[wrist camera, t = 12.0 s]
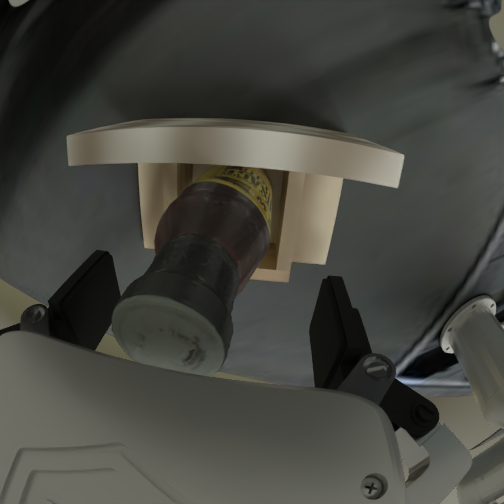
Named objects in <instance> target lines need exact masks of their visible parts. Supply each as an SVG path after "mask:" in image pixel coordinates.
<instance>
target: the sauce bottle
mask: <svg viewBox="0 0 504 504" xmlns="http://www.w3.org/2000/svg"><path fill="white" fill-rule="evenodd" d="M271 215H272V184H271V181H270V178H269V176H268V174H267V172H266V171H265V169H263V168H256V167H244V166H230V165H213V166H212V167H211V168H209V169H208V170H207V171H206V172H205V173H204V174H202V175H201V176H200V177H199V178H197V179H196V180H195V181H194V182H193V183H192V184H190V185H189V186H188V187H187V188H186V189H184V190H183V191H182V192H181V194H180V195H179V196H178V198H176V199H175V200H174V201H173V202H172V203H171V204H170V205H169V206H168V208H167V209H166V210H165V212H164V213H163V215H162V217H161V219H160V221H159V223H158V226H157V230H156V234H155V239H154V246H155V252H156V256H155V258H154V260H153V263H152V264H151V266H150V267H149V268H148V270H147V271H146V273H145V274H144V275H143V276H141V277H139V278H138V279H136V280H134V281H133V282H132V283H131V284H130V285H129V286H128V287H127V289H126V290H125V292H124V293H123V295H122V296H121V298H120V300H119V301H118V303H117V304H116V306H115V308H114V310H113V314H112V331H113V333H114V335H115V338H116V340H117V342H118V343H119V345H120V346H121V348H122V349H123V350H124V352H125V353H126V354H127V355H128V356H129V357H131V358H132V359H133V360H134V361H135V362H138V363H142V364H147V365H151V366H155V367H160V368H165V369H170V370H175V371H180V372H185V373H191V374H197V375H203V376H211V375H212V374H214V373H216V372H217V371H218V370H219V369H220V368H221V367H222V365H223V363H224V361H225V359H226V357H227V353H228V349H229V347H230V342H231V338H232V334H233V323H232V317H231V311H232V309H233V303H234V299H235V297H236V296H237V294H239V293H240V292H241V291H242V290H243V288H244V287H245V285H246V284H247V282H248V281H249V279H250V278H251V276H252V275H253V273H254V272H255V270H256V269H257V267H258V266H259V264H260V263H261V261H262V260H263V258H264V257H265V255H266V254H267V252H268V249H269V245H270V235H271V217H272V216H271Z"/></svg>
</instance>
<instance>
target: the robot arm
mask: <svg viewBox="0 0 504 504" xmlns="http://www.w3.org/2000/svg"><path fill="white" fill-rule="evenodd" d="M120 298H121V295H120V291H119V286H118V282H117V277H116V272H115V268H114V262H113V258H112V255H110V254H109V252H108V251H102V250H96V251H95V252H94V253H93V254H92V255H91V256H90V257H89V258H88V259H87V260H86V261H85V262H84V263H83V264H82V265H81V266H80V267H79V268H78V269H77V270H76V271H75V272H74V273H73V274H72V275H71V276H70V277H69V278H68V279H67V280H66V282H65V283H64V284H63V285H62V286H61V287H60V288H59V289H58V290H57V291H56V292H55V294H54V295H53V296H52V297H51V298H50V299H49V300H48V303H49V308H48V309H47V307H46V306H45V305H43V304H35V305H32V306H30V307H29V308H27V309H26V310H25V311H24V312H23V314H22V316H21V323H18V324H16V325H13V326H10V327H7V328H4V329H2V330H0V504H440V503H441V502H442V501H443V500H444V499H445V498H446V497H447V496H448V494H449V493H450V492H451V491H452V490H453V489H454V488H455V487H456V490H457V497H458V501H459V504H499V503H497V502H496V501H495V500H496V499H498V498H500V497H501V496H503V495H504V437H503V438H501V439H500V440H499V441H498V442H496V443H495V444H494V445H492V446H491V447H489V448H488V449H486V450H485V451H483V452H482V453H480V454H479V455H477V456H476V457H474V458H473V459H472V457H471V454H470V452H469V451H468V450H467V449H466V447H465V446H464V445H463V444H462V443H461V442H460V441H459V439H458V438H457V437H456V436H455V435H454V433H453V432H452V431H451V430H450V429H449V428H448V427H447V426H446V425H445V423H444V424H443V425H441V424H440V423H439V412H438V409H437V408H436V406H435V405H434V404H433V403H432V402H430V401H429V400H428V399H426V398H425V397H423V396H421V395H420V394H418V393H417V392H415V391H414V390H412V389H411V388H409V387H408V386H406V385H405V384H403V383H401V382H400V381H398V380H397V379H395V375H396V368H395V366H394V364H393V362H392V361H391V360H390V359H389V358H387V357H386V356H384V355H381V354H377V353H372V351H371V348H370V344H369V341H368V338H367V335H366V332H365V329H364V326H363V323H362V319H361V317H360V314H359V311H358V309H356V308H352V305H351V302H350V299H349V296H348V293H347V290H346V287H345V284H344V281H343V279H342V277H339V276H328V277H327V279H323V280H322V284H321V288H320V292H319V295H318V299H317V303H316V306H315V310H314V313H313V317H312V320H311V324H310V329H309V334H310V343H311V352H312V362H313V372H314V382H315V387H304V386H290V385H277V384H266V383H255V382H247V381H238V380H230V379H223V378H216V377H209V376H203V375H197V374H191V373H185V372H180V371H175V370H170V369H165V368H160V367H155V366H151V365H147V364H142V363H138V362H134V361H130V360H126V359H122V358H118V357H115V356H111V355H107V354H104V353H101V352H97V351H95V350H96V348H97V346H98V345H99V343H100V341H101V339H102V338H103V336H104V334H105V333H106V331H107V330H108V328H109V326H110V325H111V323H112V314H113V310H114V308H115V306H116V304H117V303H118V301H119V300H120ZM495 313H496V304H495V302H494V300H493V299H492V298H491V297H490V296H487V295H482V296H478V297H476V298H473V299H472V300H470V301H468V302H467V303H465V304H464V305H463V306H461V307H460V308H459V309H458V310H457V311H456V312H455V313H454V314H453V315H452V316H451V318H450V319H449V320H448V321H447V323H446V325H445V326H444V328H443V330H442V332H441V335H440V345H441V347H442V349H443V350H444V351H445V352H447V353H454V354H455V355H456V357H457V359H458V361H459V363H460V365H461V367H462V369H463V371H464V374H465V376H466V378H467V380H468V382H469V384H470V386H471V389H472V391H473V393H474V395H475V398H476V400H477V402H478V404H479V407H480V410H481V412H482V414H483V416H484V419H485V420H486V421H487V422H488V423H489V424H490V425H493V426H495V427H499V428H503V429H504V323H499V322H498V320H497V319H496V317H495ZM400 453H401V454H400ZM401 455H402V456H403V457H404V459H402V460H403V461H404V463H405V464H406V465H407V467H408V469H409V476H408V479H407V481H406V482H405V478H404V472H403V466H402V460H401ZM500 504H504V502H503V503H500Z"/></svg>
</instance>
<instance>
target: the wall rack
mask: <svg viewBox="0 0 504 504" xmlns="http://www.w3.org/2000/svg"><path fill="white" fill-rule="evenodd" d="M67 151H68V164H69V166H75V165H91V164H113V163H138V174H139V192H140V206H141V218H142V228H143V238H144V246H145V248H150V249H155V246H154V239H155V234H156V230H157V226H158V223H159V221H160V219H161V217H162V215H163V213H164V212H165V210H166V209H167V208H168V206H169V205H170V204H171V203H172V202H173V201H174V200H175V199H176V198H178V196H179V195H180V194H181V192H182V191H183V190H184V189H186V188H187V187H188V186H189V185H190V184H192V183H193V182H194V181H195V180H196V179H197V178H199V177H200V176H201V175H202V174H204V173H205V172H206V171H207V170H208V169H209V168H211V167H212V166H213V165H230V166H244V167H256V168H263V169H265V171H266V172H267V174H268V176H269V178H270V181H271V184H272V215H271V216H272V217H271V235H270V245H269V249H268V252H267V254H266V255H265V257H264V258H263V260H262V261H261V263H260V264H259V266H258V267H257V269H256V270H255V272H254V273H253V275H252V276H251V278H250V279H254V280H265V281H277V282H288V281H289V276H290V267H291V262H301V263H312V264H323V265H325V263H326V259H327V254H328V250H329V246H330V242H331V237H332V233H333V228H334V223H335V219H336V214H337V209H338V204H339V199H340V194H341V188H342V183H343V178H345V179H351V180H357V181H362V182H368V183H373V184H379V185H384V186H389V187H394V188H398V185H399V180H400V176H401V171H402V166H403V161H404V156H405V155H403V154H401V153H398V152H396V151H394V150H391V149H389V148H386V147H384V146H381V145H379V144H376V143H373V142H371V141H368V140H365V139H363V138H360V137H357V136H354V135H351V134H349V133H344V132H339V131H333V130H328V129H322V128H315V127H309V126H301V125H294V124H286V123H277V122H267V121H255V120H241V119H220V118H163V119H143V120H136V121H130V122H125V123H119V124H114V125H109V126H105V127H100V128H96V129H91V130H87V131H83V132H79V133H75V134H72V135H68V136H67Z"/></svg>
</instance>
